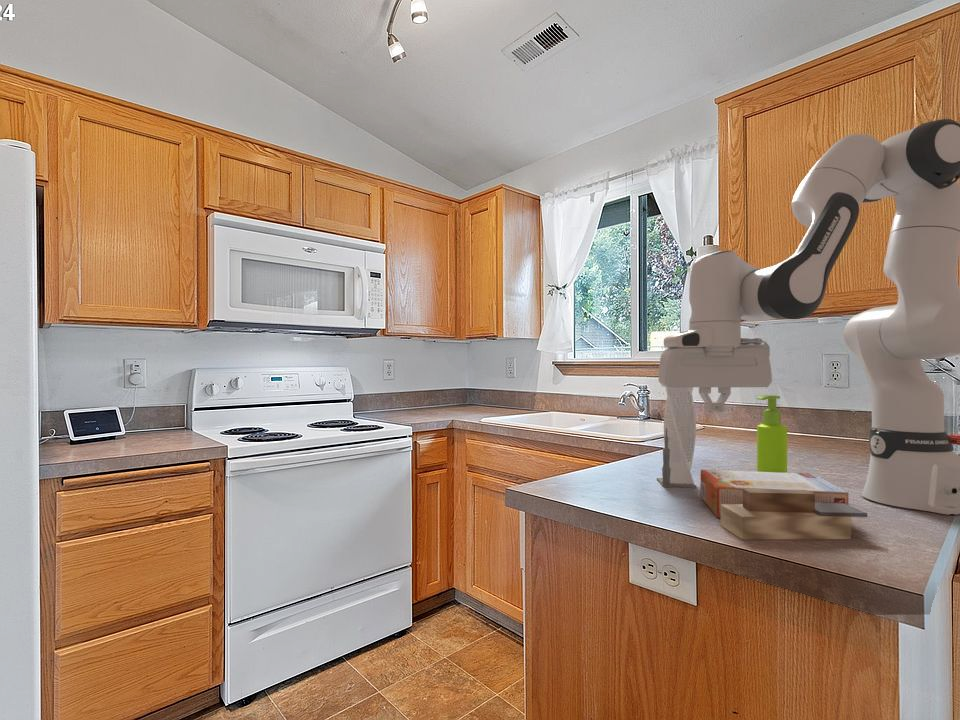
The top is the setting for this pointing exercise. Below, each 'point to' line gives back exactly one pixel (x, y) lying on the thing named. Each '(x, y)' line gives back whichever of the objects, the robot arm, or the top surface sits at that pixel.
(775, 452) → the soap dispenser
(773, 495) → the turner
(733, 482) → the cracker box
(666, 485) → the skyscraper
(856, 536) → the top surface
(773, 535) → the beech board
